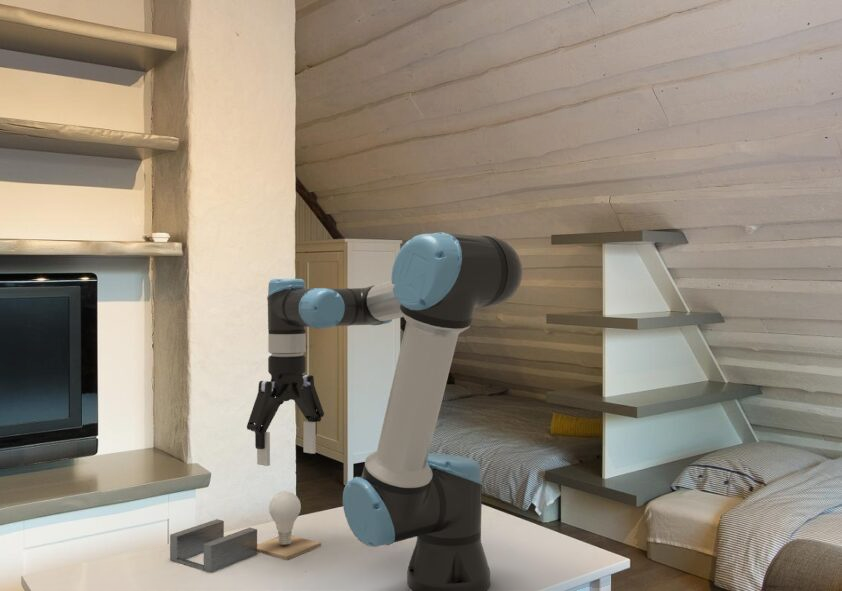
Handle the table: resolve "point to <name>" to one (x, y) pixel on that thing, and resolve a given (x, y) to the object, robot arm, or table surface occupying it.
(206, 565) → the housing
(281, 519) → the lightbulb
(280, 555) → the cork pad
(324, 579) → the table surface
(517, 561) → the table surface
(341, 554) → the table surface
